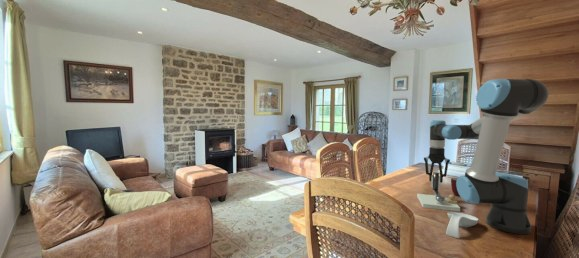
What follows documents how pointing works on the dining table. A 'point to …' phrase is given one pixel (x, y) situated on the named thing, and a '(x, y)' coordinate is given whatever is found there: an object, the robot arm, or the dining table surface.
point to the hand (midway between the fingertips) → (435, 187)
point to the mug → (454, 186)
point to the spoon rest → (459, 223)
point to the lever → (435, 186)
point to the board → (433, 201)
